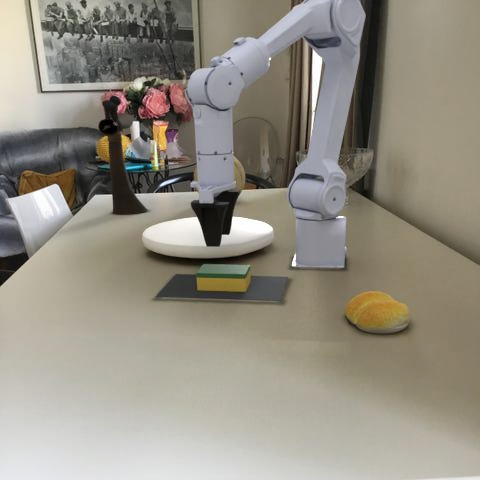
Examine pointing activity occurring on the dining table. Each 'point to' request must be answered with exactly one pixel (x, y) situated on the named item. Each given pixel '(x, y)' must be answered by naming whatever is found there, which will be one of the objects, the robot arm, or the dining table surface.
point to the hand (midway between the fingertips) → (218, 240)
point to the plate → (193, 244)
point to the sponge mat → (257, 290)
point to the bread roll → (377, 313)
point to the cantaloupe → (238, 175)
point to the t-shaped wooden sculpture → (118, 158)
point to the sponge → (223, 277)
